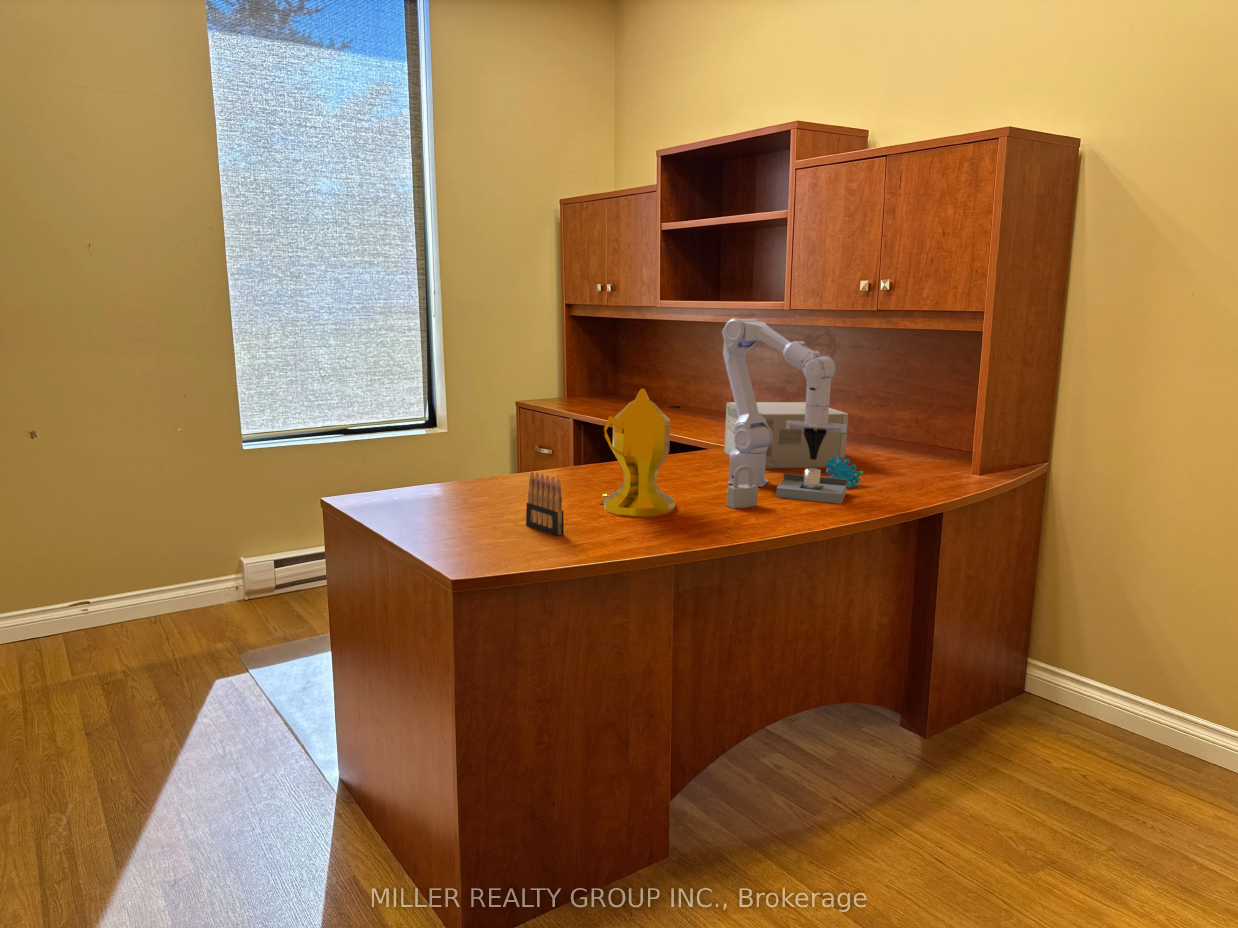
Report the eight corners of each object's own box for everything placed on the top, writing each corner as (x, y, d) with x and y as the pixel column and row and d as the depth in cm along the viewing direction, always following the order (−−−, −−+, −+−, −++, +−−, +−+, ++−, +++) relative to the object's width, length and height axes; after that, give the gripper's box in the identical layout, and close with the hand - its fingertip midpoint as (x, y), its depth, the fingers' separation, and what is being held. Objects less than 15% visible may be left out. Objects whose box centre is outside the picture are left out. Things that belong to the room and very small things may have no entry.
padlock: (748, 503, 208) (751, 462, 206) (758, 506, 205) (761, 466, 203) (724, 505, 205) (726, 465, 203) (734, 509, 201) (736, 468, 199)
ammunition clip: (525, 525, 183) (525, 470, 181) (532, 523, 184) (532, 469, 182) (557, 536, 175) (557, 479, 173) (563, 534, 177) (564, 478, 174)
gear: (832, 483, 224) (824, 452, 230) (821, 495, 229) (814, 464, 234) (869, 488, 227) (860, 457, 233) (857, 499, 232) (849, 469, 237)
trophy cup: (575, 511, 196) (577, 389, 190) (634, 492, 216) (638, 382, 210) (638, 524, 186) (642, 396, 181) (694, 503, 206) (699, 388, 200)
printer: (844, 468, 255) (848, 413, 251) (753, 469, 249) (756, 414, 246) (807, 451, 281) (810, 401, 278) (723, 452, 275) (726, 401, 272)
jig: (776, 497, 215) (776, 481, 214) (783, 487, 226) (784, 473, 225) (841, 503, 209) (842, 488, 209) (845, 493, 220) (846, 478, 220)
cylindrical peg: (800, 497, 215) (802, 470, 214) (804, 494, 219) (806, 467, 217) (816, 499, 214) (818, 471, 212) (820, 496, 217) (822, 469, 216)
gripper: (785, 405, 211) (782, 459, 213) (845, 409, 206) (841, 464, 209) (789, 402, 217) (786, 454, 220) (848, 405, 212) (844, 459, 215)
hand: (813, 458), depth 215 cm, fingers closed
